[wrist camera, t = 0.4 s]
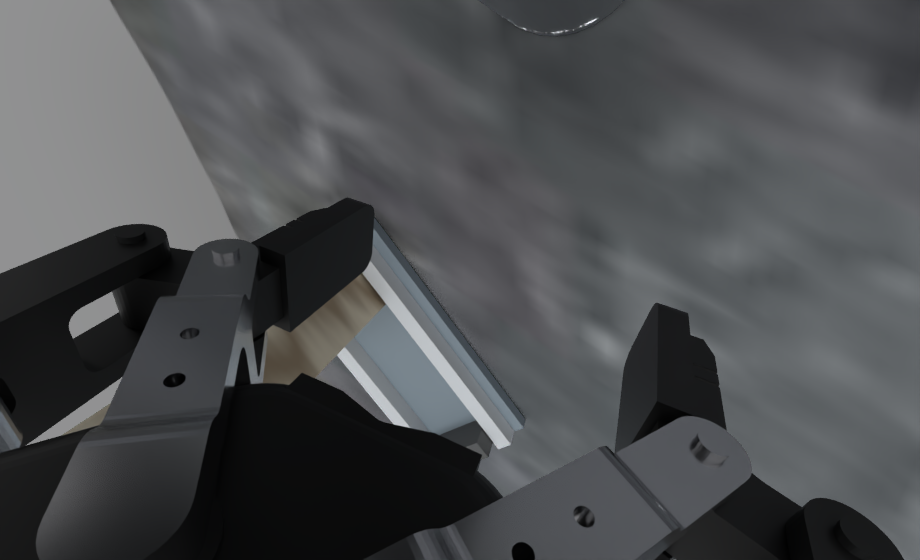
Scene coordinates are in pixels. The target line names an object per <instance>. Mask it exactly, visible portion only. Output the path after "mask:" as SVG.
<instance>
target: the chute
mask: <svg viewBox="0 0 920 560" xmlns="http://www.w3.org/2000/svg"><path fill="white" fill-rule="evenodd" d="M363 275H364V276H365V277H366V279H367V280H368V281H369V282H370V284H371V285H372V286H373V288H374V289H375V290H376V291H377V293H378V294H379V295H380V297H381V298H382V299H383V300H384V302H385V303H386V305H385V306H384V307H383V308H382V309H381V310H380V311H379V312H378V313H377V314H376V315H375V316H374V317H373V318H372V319H371V320H370V321H369V322H368V323H367V324H366V325H365V326H364V327H363V328H362V330H361V331H360V332H359V333H358V334H357V335H356V336H355V337H354V338H353V339H352V340H351V341H350V342H349V343H348V344H347V345H346V346H345V347H344V348H343V349H342V350H341V351H340V352H339V353H338V354H337V356H338V357H339V358H340V359H341V361H342V362H343V363H344V364H345V365H346V367H347V368H348V369H349V370H350V372H351V373H352V374H353V375H354V376H355V378H356V379H357V380H358V381H359V383H360V384H361V385H362V386H363V387H364V389H365V390H366V391H367V392H368V394H369V395H370V396H371V397H372V398H373V400H374V401H375V402H376V403H377V405H378V406H379V407H380V408H381V409H382V411H383V412H384V413H385V414H386V415H387V417H388V418H389V419H390V420H391V422H392V423H393V424H394V425H399V426H403V427H408V428H413V429H418V430H423V431H427V432H432V433H436V434H438V435H440V436H442V437H444V438H447V439H449V440H451V441H453V442H455V443H458V444H460V445H462V446H464V447H466V448H468V449H471V450H473V451H475V452H477V453H479V454H482V458H481V460H482V459H485V458H488V457H489V453H490V450H491V446H492V443H494V444H495V445H496V447H497V448H498V449H500V448H503V447H506V446H509V445H511V443H512V439H513V434H514V431H516V430H519V429H522V428H524V423H525V418H524V417H523V416H522V414H521V413H520V412H519V410H518V409H517V408H516V406H515V405H514V404H513V402H512V401H511V400H510V398H509V397H508V396H507V394H506V393H505V391H504V390H503V389H502V387H501V386H500V385H499V383H498V382H497V381H496V379H495V378H494V377H493V375H492V374H491V373H490V371H489V370H488V369H487V367H486V366H485V365H484V363H483V362H482V361H481V359H480V358H479V357H478V355H477V354H476V353H475V351H474V350H473V349H472V347H471V346H470V345H469V343H468V342H467V341H466V339H465V338H464V337H463V335H462V334H461V333H460V331H459V330H458V329H457V327H456V326H455V325H454V323H453V322H452V321H451V319H450V318H449V317H448V315H447V314H446V313H445V311H444V310H443V308H442V307H441V306H440V304H439V303H438V302H437V300H436V299H435V298H434V296H433V295H432V294H431V292H430V291H429V290H428V288H427V287H426V286H425V284H424V283H423V282H422V280H421V279H420V278H419V276H418V275H417V274H416V272H415V271H414V270H413V268H412V267H411V266H410V264H409V263H408V262H407V260H406V259H405V258H404V256H403V255H402V254H401V252H400V251H399V250H398V248H397V247H396V246H395V244H394V243H393V242H392V240H391V239H390V238H389V236H388V235H387V234H386V232H385V231H384V229H383V228H382V227H381V225H380V224H379V223H378V221H377V220H376V219H375V217H374V230H373V247H372V256H371V260H370V262H369V265H368V266H367V268H366V269H365V271H364V272H363Z"/></svg>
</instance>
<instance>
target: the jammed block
mask: <svg viewBox="0 0 920 560" xmlns="http://www.w3.org/2000/svg"><path fill="white" fill-rule="evenodd" d="M385 305H386V303H385V302H384V300H383V299H382V298H381V297H380V295H379V294H378V293H377V291H376V290H375V289H374V288H373V286H372V285H371V284H370V282H369V281H368V280H367V279H366V277H365V276H364V275H363V273H362V274H360V275H359V276H358V277H357V278H355V279H354V280H353V281H352V282H351V283H349V284H348V285H347V286H346V287H345V288H343V289H342V290H341V291H340V292H339V293H337V294H336V295H335V296H334V297H333V298H331V299H330V300H329V301H328V302H327V303H325V304H324V305H323V306H322V307H321V308H319V309H318V310H317V311H316V312H315V313H313V314H312V315H311V316H310V317H309V318H307V319H306V320H305V321H304V322H302V323H301V324H300V325H299V326H298V327H296V328H295V329H294V330H293V331H292V332H288V331H285V330H283V329H281V328H279V327H276V326H274V325H273V326H271V327H270V328H269V329H267V335H268V341H267V350H266V358H265V367H264V375H263V383H279V384H287V385H290V384H291V383H292V382H293V381H294V380H295V379H296V378H297V377H298V376H299V375H300V374H301V373H304V374H306V375H308V376H311V377H313V378H315V377H316V376H317V375H318V374H319V373H320V372H321V371H322V370H323V369H324V368H325V367H326V366H327V365H328V364H329V363H330V362H331V361H332V360H333V359H334V358H335V357H336V356H337V354H338V353H339V352H340V351H341V350H342V349H343V348H344V347H345V346H346V345H347V344H348V343H349V342H350V341H351V340H352V339H353V338H354V337H355V336H356V335H357V334H358V333H359V332H360V331H361V330H362V328H363V327H364V326H365V325H366V324H367V323H368V322H369V321H370V320H371V319H372V318H373V317H374V316H375V315H376V314H377V313H378V312H379V311H380V310H381V309H382V308H383V307H384V306H385ZM110 404H111V403H110ZM110 404H109V405H107V406H106V407H104V408H103V409H101V410H100V411H98V412H96V413H95V414H94V415H92V416H91V417H89V418H88V419H86V420H84V421H83V422H81V423H80V424H78V425H77V426H75V427H74V428H72V429H71V430H69V431H68V432H66V433H64V434H63V435H66V434H69V433H73V432H76V431H80V430H83V429H87V428H90V427H94V426H98V425H100V424H101V422H102V421H103V419H104V417H105V415H106V413H107V410H108V408H109V406H110ZM61 436H62V435H61Z"/></svg>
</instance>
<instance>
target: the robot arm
mask: <svg viewBox="0 0 920 560" xmlns="http://www.w3.org/2000/svg"><path fill="white" fill-rule="evenodd" d="M478 1H480V2H481V3H483V4H484V5H486V6H487V7H489V8H490V9H492V10H493V11H495V12H496V13H498V14H499V15H501V16H502V17H503V18H505V19H507V20H508V21H510V22H511V23H513V25H514V26H516V27H518V28H520V29H523V30H525V31H528V32H531V33H535V34H538V35H545V36H561V35H567V34H572V33H577V32H579V31H581V30H584V29H586V28H589V27H591V26H593V25H595V24H596V23H598V22H599V21H601V20H602V19H604V18H605V17H607V16H608V15H610V14H611V13H612V12H613V11H614V10H615V9H616V8H617V7H618V6H619V5H620V4H621V3H622V2H623V1H624V0H478ZM373 230H374V209H373V207H372V206H371V205H369V204H366V203H363V202H360V201H357V200H354V199H351V198H345V199H343V200H341V201H339V202H337V203H336V204H334V205H332V206H330V207H328V208H323V209H319V210H315V211H310V212H308V213H306V214H304V215H302V216H301V217H299V218H297V220H293V221H291V222H289V223H287V224H286V226H282V227H280V228H278V229H276V230H274V231H272V232H270V233H269V234H267V235H265V236H263V237H261V238H259V239H257V240H255V241H254V242H252V243H250V242H247V241H244V240H239V239H221V240H215V241H211V242H208V243H205V244H204V245H201V246H200V247H198V248H197V249H196V250H195V251H188V250H181V249H175V248H170V247H169V242H168V238H167V235H166V232H165V231H164V230H163V229H161V228H159V227H157V226H153V225H147V224H131V225H123V226H118V227H115V228H111V229H109V230H106V231H104V232H101V233H99V234H97V235H94V236H92V237H89V238H87V239H84V240H82V241H79V242H77V243H74V244H72V245H69V246H67V247H64V248H62V249H60V250H57V251H55V252H52V253H50V254H47V255H45V256H42V257H40V258H37V259H35V260H33V261H30V262H28V263H25V264H23V265H21V266H18V267H16V268H13V269H10V270H8V271H6V272H3V273H1V274H0V560H674V559H676V560H904V559H903V557H902V555H901V554H900V552H899V551H898V549H897V548H896V546H895V545H894V544H893V543H892V541H891V540H890V539H889V538H888V537H887V536H886V535H885V534H884V533H883V532H882V531H881V530H880V529H879V528H878V527H877V526H876V525H875V524H874V523H872V522H871V521H870V520H869V519H867V518H866V517H865V516H863V515H862V514H860V513H859V512H857V511H856V510H854V509H852V508H851V507H849V506H847V505H845V504H843V503H840V502H837V501H835V500H831V499H827V498H815V499H812V500H810V501H809V502H808V503H806V504H805V505H804V506H803V507H801V506H799V505H797V504H796V503H794V502H793V501H791V500H790V499H788V498H787V497H785V496H784V495H782V494H781V493H779V492H777V491H776V490H774V489H773V488H771V487H770V486H768V485H767V484H765V483H764V482H763V481H761V480H760V479H759V478H757V477H756V476H755V475H754V474H752V464H751V461H750V458H749V456H748V454H747V452H746V450H745V449H744V448H743V446H742V445H741V444H740V443H739V441H738V440H737V439H736V438H735V437H734V436H732V435H731V434H730V433H729V432H728V431H727V430H726V424H725V417H724V411H723V405H722V399H721V392H720V388H719V387H718V386H719V380H718V375H717V374H716V373H717V367H716V361H715V356H714V354H713V353H712V352H711V350H710V349H709V347H708V346H707V344H706V343H705V341H704V340H703V339H700V338H697V337H694V336H691V335H690V327H689V316H688V313H686V312H683V311H680V310H677V309H674V308H671V307H668V306H665V305H662V304H659V303H655V304H654V306H653V307H652V309H651V311H650V312H649V314H648V316H647V318H646V320H645V322H644V324H643V326H642V328H641V330H640V332H639V334H638V336H637V338H636V340H635V342H634V344H633V346H632V348H631V350H630V352H629V354H628V357H627V360H626V363H625V367H624V372H623V381H622V390H621V400H620V409H619V418H618V427H617V436H616V445H615V453H613V452H612V451H611V450H610V449H609V448H608V447H607V446H602V447H599V448H596V449H594V450H592V451H590V452H588V453H587V454H585V455H583V456H581V457H579V458H577V459H575V460H573V461H571V462H569V463H568V464H566V465H564V466H562V467H560V468H558V469H556V470H554V471H552V472H550V473H549V474H547V475H545V476H543V477H541V478H539V479H537V480H535V481H533V482H531V483H530V484H528V485H526V486H524V487H522V488H520V489H518V490H516V491H514V492H512V493H511V494H509V495H507V496H505V497H502V495H501V494H500V493H499V492H498V490H497V489H496V488H495V487H494V486H493V485H492V484H491V483H490V482H489V481H488V480H487V479H486V478H485V477H484V476H483V475H482V474H480V473H479V472H478V471H477V470H478V467H479V464H480V461H481V458H482V454H479V453H477V452H475V451H473V450H471V449H468V448H466V447H464V446H462V445H460V444H458V443H455V442H453V441H451V440H449V439H447V438H444V437H442V436H440V435H438V434H436V433H432V432H427V431H423V430H418V429H413V428H408V427H403V426H399V425H394V424H389V423H385V422H382V421H379V420H378V419H376V418H375V417H374V416H373V415H371V414H370V413H369V412H368V411H366V410H365V409H364V408H363V407H362V406H360V405H359V404H358V403H357V402H355V401H354V400H353V399H352V398H351V397H349V396H348V395H347V394H346V393H344V392H343V391H341V390H339V389H337V388H335V387H333V386H330V385H328V384H326V383H324V382H322V381H319V380H317V379H315V378H313V377H311V376H308V375H306V374H304V373H301V374H300V375H299V376H298V377H297V378H296V379H295V380H294V381H293V382H292V383H291V384H290V385H287V384H279V383H263V375H264V367H265V358H266V350H267V341H268V335H267V329H269V328H270V327H271V326H273V325H274V326H276V327H279V328H281V329H283V330H285V331H288V332H292V331H293V330H294V329H295V328H296V327H298V326H299V325H300V324H301V323H302V322H304V321H305V320H306V319H307V318H309V317H310V316H311V315H312V314H313V313H315V312H316V311H317V310H318V309H319V308H321V307H322V306H323V305H324V304H325V303H327V302H328V301H329V300H330V299H331V298H333V297H334V296H335V295H336V294H337V293H339V292H340V291H341V290H342V289H343V288H345V287H346V286H347V285H348V284H349V283H351V282H352V281H353V280H354V279H355V278H357V277H358V276H359V275H360V274H362V273H363V272H364V271H365V269H366V268H367V266H368V265H369V262H370V260H371V256H372V247H373ZM110 292H113V295H114V298H115V301H116V304H117V307H118V310H119V313H117V314H115V315H114V316H112V317H110V318H109V319H107V320H105V321H103V322H101V323H100V324H98V325H96V326H95V327H93V328H91V329H89V330H88V331H86V332H84V333H83V334H81V335H79V336H77V337H75V338H74V339H73V338H72V336H71V334H70V331H69V321H70V319H71V317H72V316H73V314H74V313H75V312H76V311H77V310H79V309H80V308H81V307H83V306H85V305H87V304H89V303H91V302H93V301H94V300H96V299H98V298H100V297H102V296H104V295H106V294H108V293H110ZM121 377H122V379H121V382H120V384H119V386H118V388H117V390H116V393H115V395H114V397H113V400H112V401H111V404H110V406H109V408H108V410H107V413H106V415H105V417H104V419H103V421H102V422H101V424H100V425H98V426H94V427H90V428H87V429H83V430H80V431H76V432H73V433H69V434H66V435H62V436H59V437H55V438H51V439H48V440H44V441H41V442H37V443H34V444H30V445H27V444H28V443H29V442H31V441H32V440H34V439H35V438H37V437H38V436H39V435H41V434H42V433H44V432H45V431H47V430H48V429H49V428H51V427H52V426H54V425H55V424H56V423H58V422H59V421H61V420H62V419H63V418H65V417H66V416H68V415H69V414H70V413H72V412H73V411H75V410H76V409H77V408H79V407H80V406H82V405H83V404H85V403H86V402H87V401H89V400H90V399H92V398H93V397H94V396H96V395H97V394H99V393H100V392H101V391H103V390H104V389H106V388H107V387H108V386H109V385H111V384H112V383H114V382H116V381H117V380H118V379H120V378H121ZM25 445H27V446H25Z"/></svg>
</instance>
